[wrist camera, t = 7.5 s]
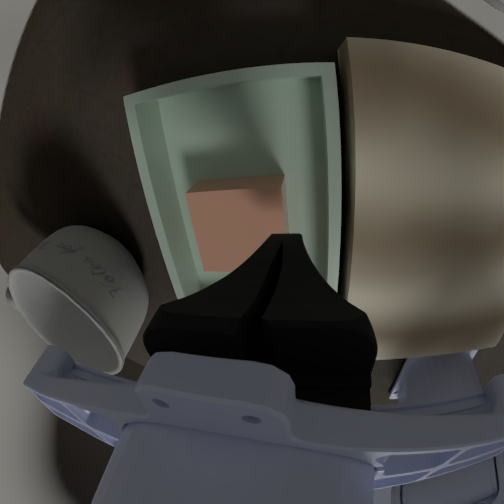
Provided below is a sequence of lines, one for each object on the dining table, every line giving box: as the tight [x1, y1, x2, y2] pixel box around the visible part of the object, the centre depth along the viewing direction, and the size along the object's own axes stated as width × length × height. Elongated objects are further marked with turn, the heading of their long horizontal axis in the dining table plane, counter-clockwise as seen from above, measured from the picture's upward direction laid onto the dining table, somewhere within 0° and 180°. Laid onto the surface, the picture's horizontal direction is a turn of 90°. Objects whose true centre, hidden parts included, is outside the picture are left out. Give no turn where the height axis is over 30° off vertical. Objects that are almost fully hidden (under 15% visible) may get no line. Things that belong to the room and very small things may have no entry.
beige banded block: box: [337, 37, 504, 360], centre depth 13 cm, size 18×13×4 cm
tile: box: [185, 175, 289, 272], centre depth 16 cm, size 5×5×2 cm
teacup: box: [6, 225, 149, 375], centre depth 19 cm, size 14×11×8 cm
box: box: [123, 62, 342, 299], centre depth 16 cm, size 16×10×3 cm, turn 7°
